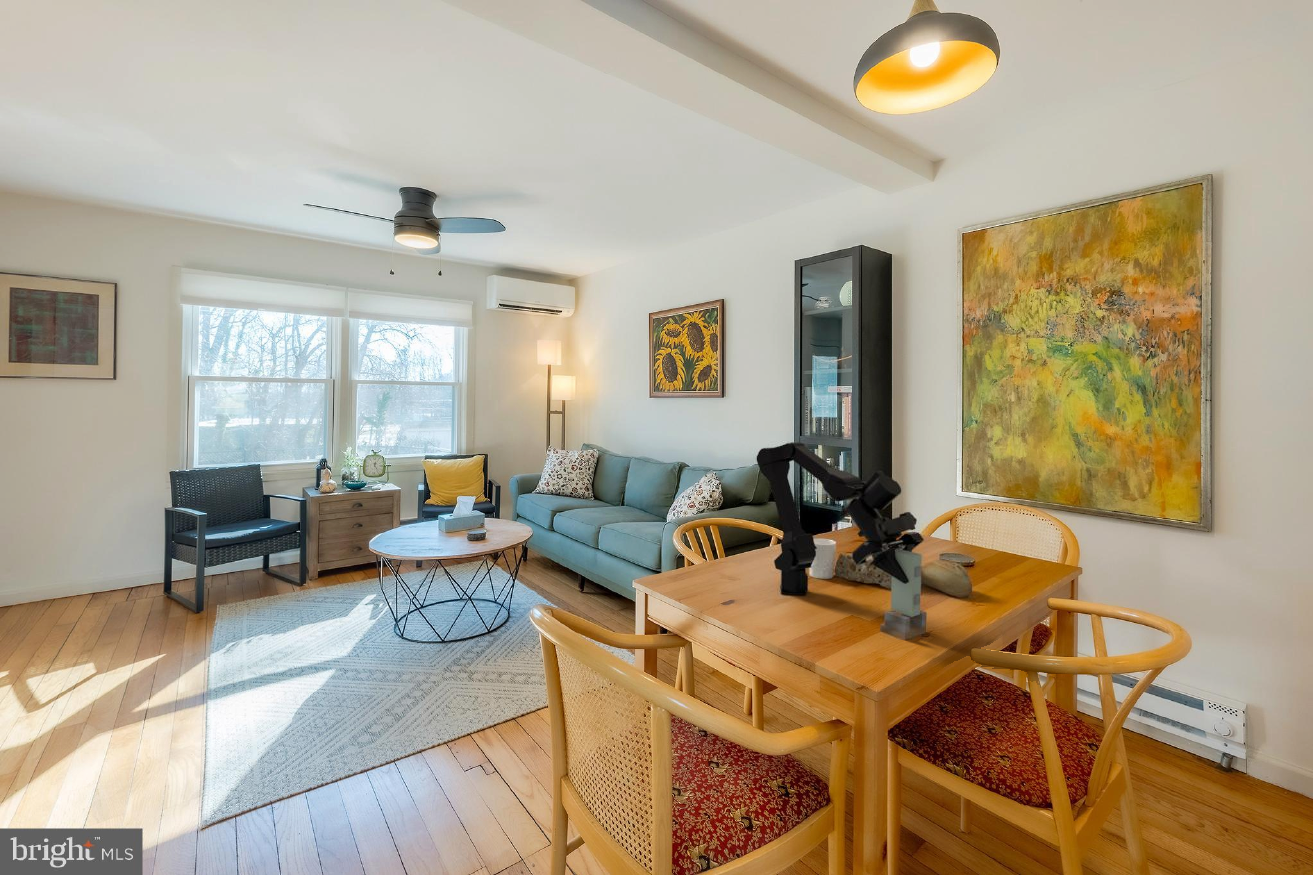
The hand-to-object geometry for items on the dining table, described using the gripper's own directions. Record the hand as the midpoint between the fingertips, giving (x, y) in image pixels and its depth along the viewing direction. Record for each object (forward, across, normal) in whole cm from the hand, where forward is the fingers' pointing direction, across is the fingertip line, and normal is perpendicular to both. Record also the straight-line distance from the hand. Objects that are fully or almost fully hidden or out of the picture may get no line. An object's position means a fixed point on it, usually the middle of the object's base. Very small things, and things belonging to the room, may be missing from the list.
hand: (911, 581), depth 124 cm
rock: (-12, +28, +29) cm, 42 cm away
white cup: (-20, +18, +37) cm, 45 cm away
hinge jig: (+7, 0, +9) cm, 12 cm away
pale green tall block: (+4, 0, +6) cm, 7 cm away
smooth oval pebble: (-1, +35, +18) cm, 39 cm away
